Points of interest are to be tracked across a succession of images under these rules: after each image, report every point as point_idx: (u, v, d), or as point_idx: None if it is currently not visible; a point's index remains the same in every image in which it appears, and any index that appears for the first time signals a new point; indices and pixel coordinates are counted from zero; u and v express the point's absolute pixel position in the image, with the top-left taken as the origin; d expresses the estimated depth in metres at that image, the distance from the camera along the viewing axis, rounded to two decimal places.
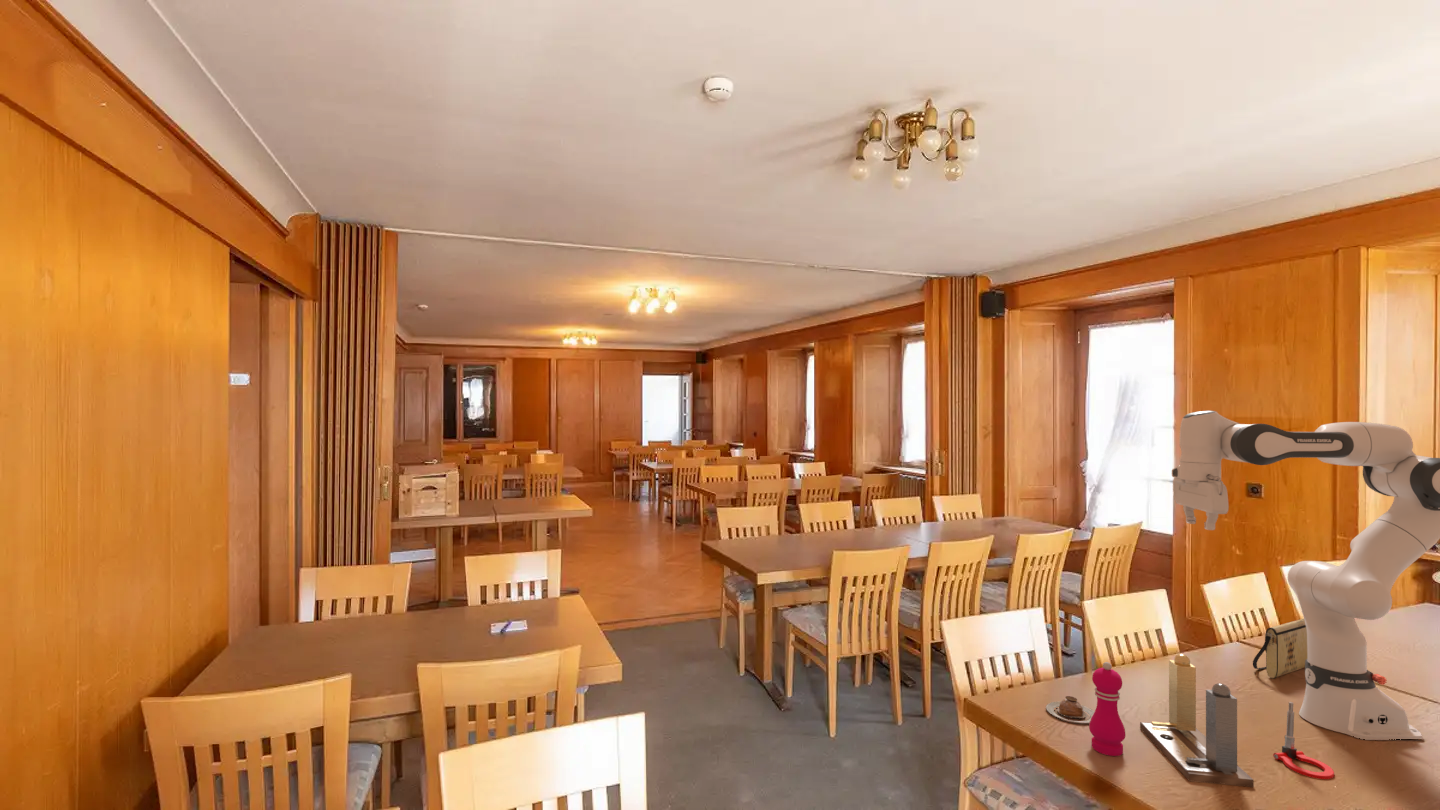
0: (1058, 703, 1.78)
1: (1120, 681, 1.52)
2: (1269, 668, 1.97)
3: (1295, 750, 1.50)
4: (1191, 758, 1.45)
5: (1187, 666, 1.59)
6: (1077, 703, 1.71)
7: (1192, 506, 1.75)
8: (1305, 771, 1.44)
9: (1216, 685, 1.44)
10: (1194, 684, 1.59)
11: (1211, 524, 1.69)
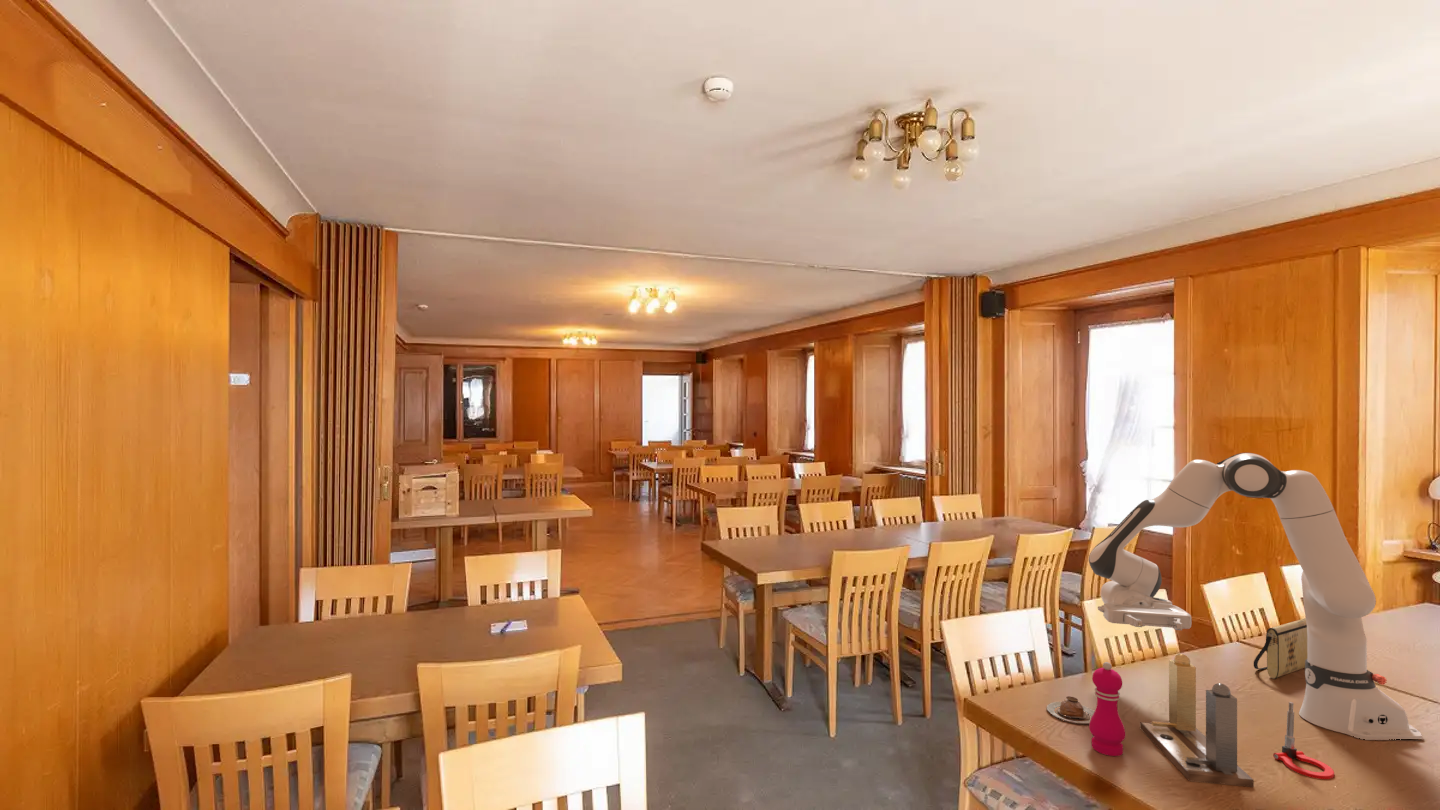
0: (1059, 703, 1.78)
1: (1120, 681, 1.52)
2: (1270, 669, 1.97)
3: (1295, 750, 1.50)
4: (1191, 758, 1.45)
5: (1187, 666, 1.59)
6: (1078, 703, 1.71)
7: (1150, 625, 1.78)
8: (1305, 771, 1.44)
9: (1216, 685, 1.44)
10: (1194, 684, 1.59)
11: (1133, 621, 1.75)
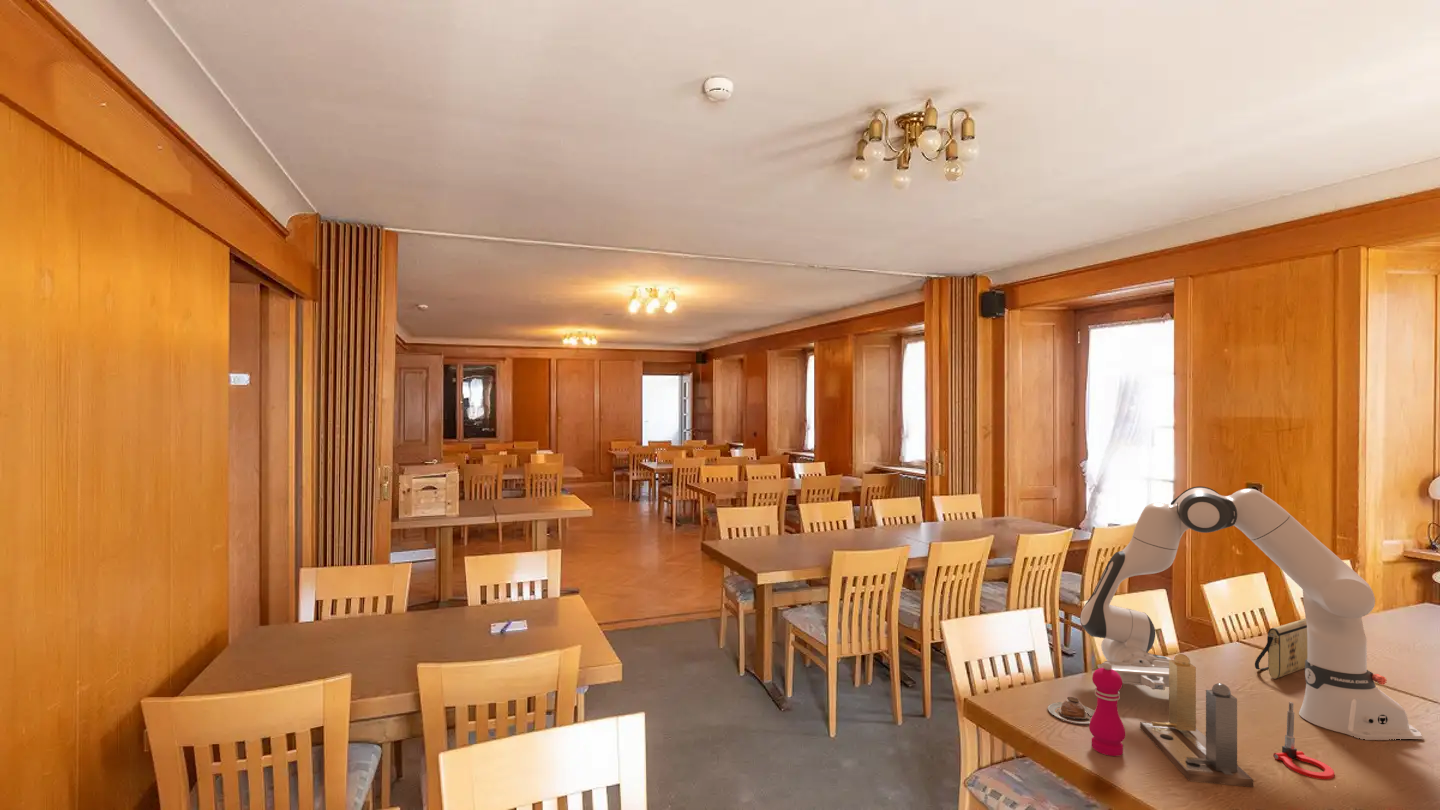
0: (1060, 704, 1.77)
1: (1120, 681, 1.52)
2: (1271, 669, 1.97)
3: (1295, 750, 1.50)
4: (1191, 758, 1.45)
5: (1187, 666, 1.59)
6: (1079, 704, 1.71)
7: None
8: (1305, 771, 1.44)
9: (1216, 685, 1.44)
10: (1194, 684, 1.59)
11: (1150, 683, 1.74)
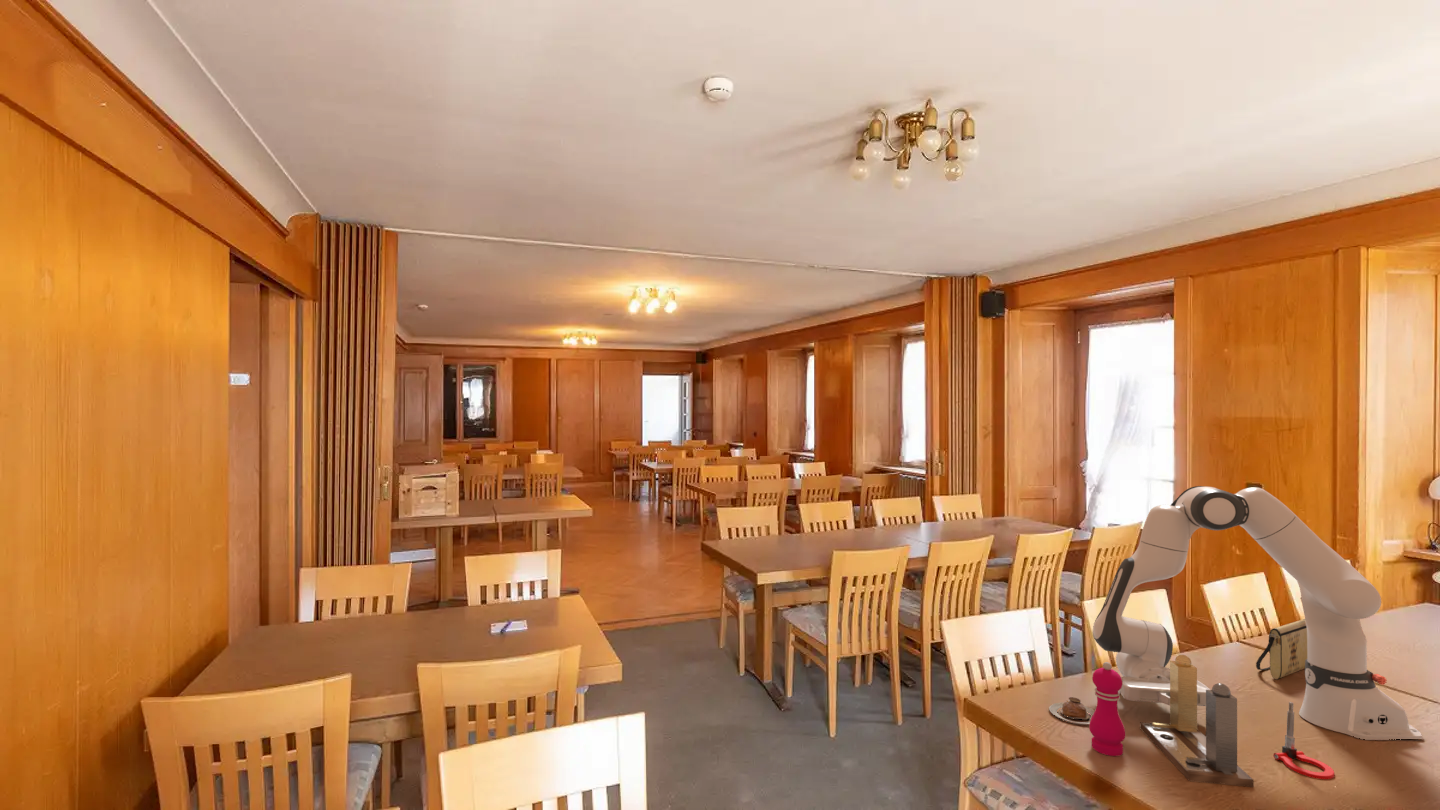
0: (1061, 704, 1.77)
1: (1120, 681, 1.52)
2: (1273, 669, 1.96)
3: (1295, 750, 1.50)
4: (1191, 758, 1.45)
5: (1188, 667, 1.59)
6: (1080, 704, 1.71)
7: None
8: (1305, 771, 1.44)
9: (1216, 685, 1.44)
10: (1195, 685, 1.58)
11: (1169, 701, 1.64)
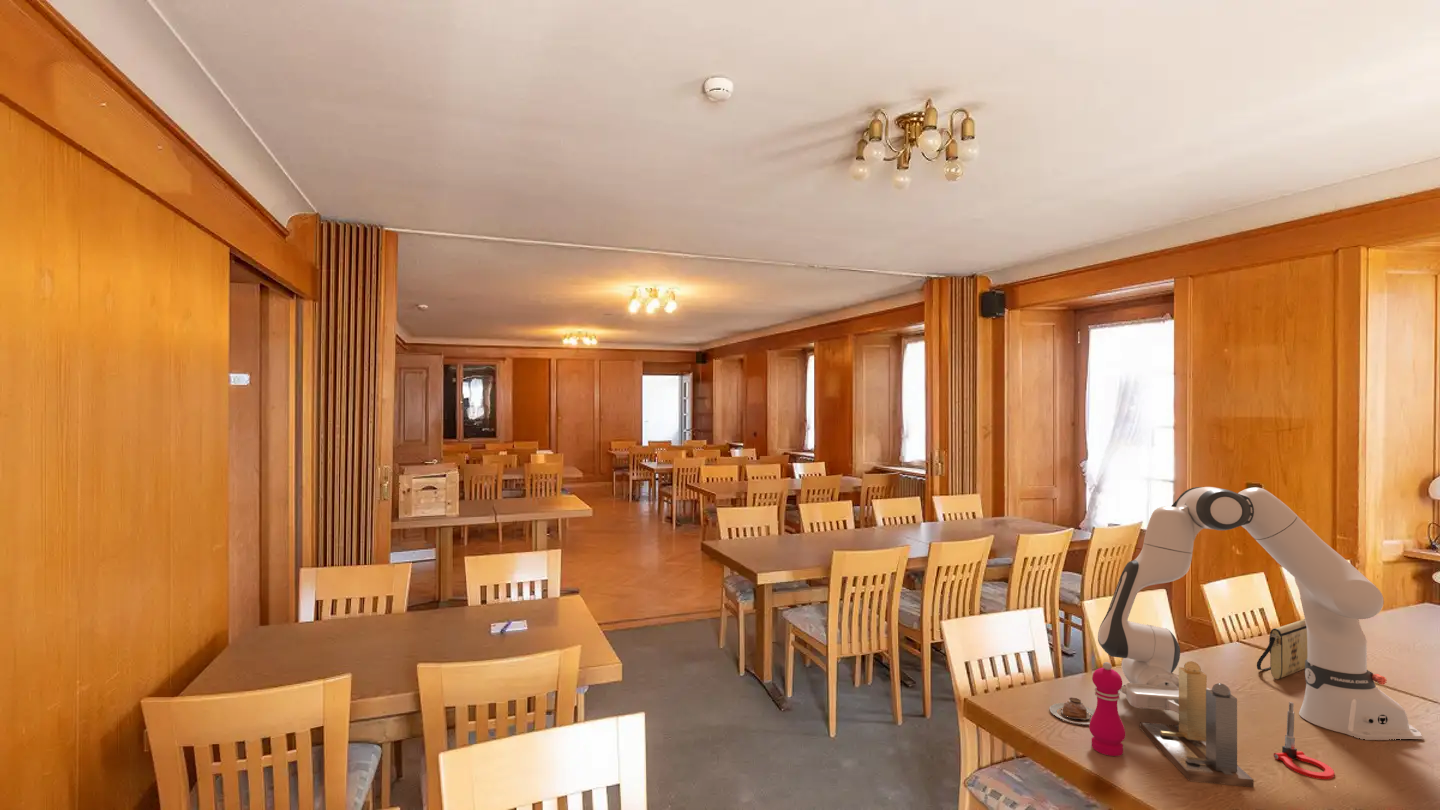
0: (1061, 704, 1.77)
1: (1120, 681, 1.52)
2: (1274, 670, 1.96)
3: (1295, 750, 1.50)
4: (1191, 758, 1.45)
5: (1197, 674, 1.54)
6: (1081, 704, 1.71)
7: None
8: (1305, 771, 1.44)
9: (1216, 685, 1.44)
10: (1205, 692, 1.54)
11: (1178, 709, 1.60)
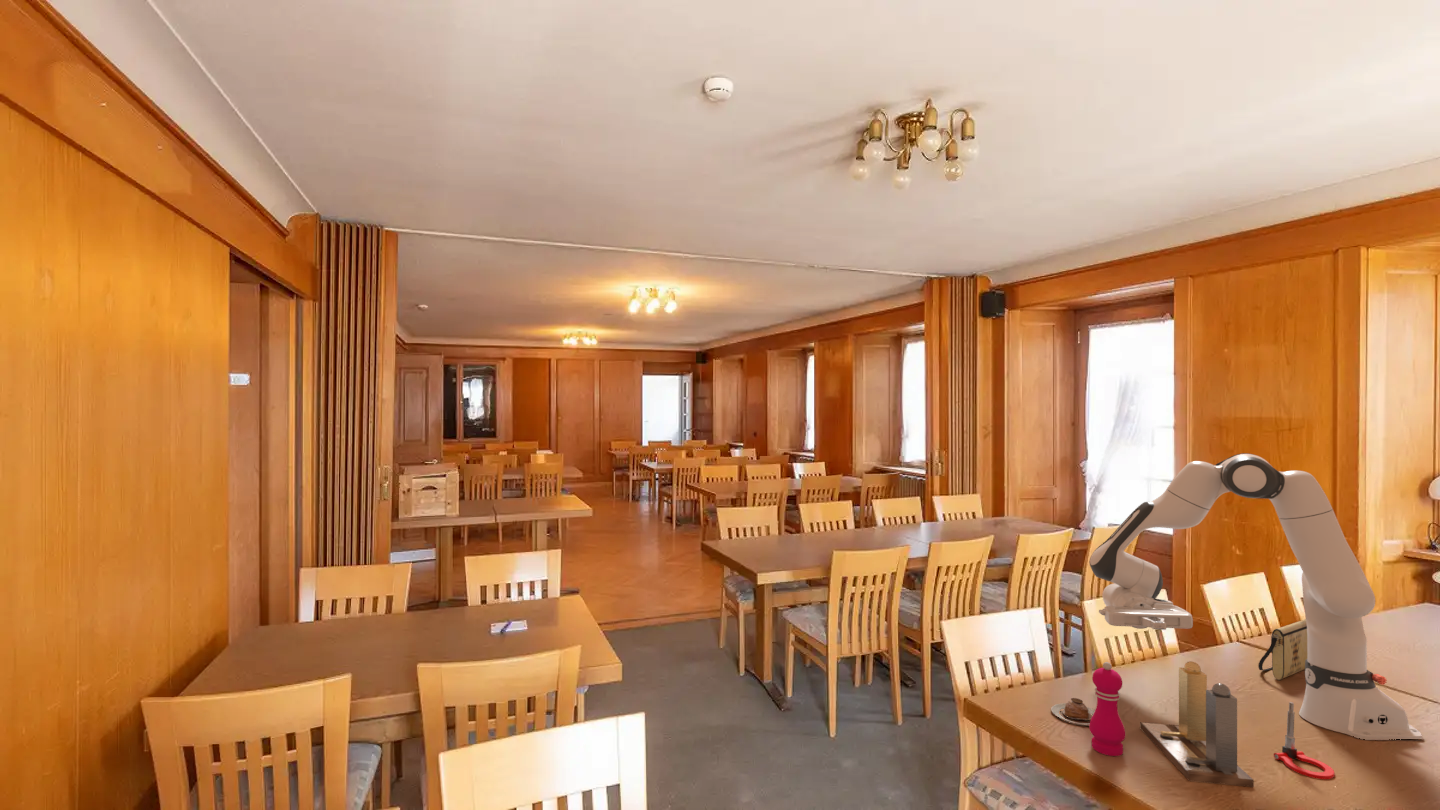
0: (1063, 705, 1.77)
1: (1120, 681, 1.52)
2: (1275, 670, 1.96)
3: (1295, 750, 1.50)
4: (1191, 758, 1.45)
5: (1198, 674, 1.54)
6: (1083, 705, 1.70)
7: None
8: (1305, 771, 1.44)
9: (1216, 685, 1.44)
10: (1205, 692, 1.54)
11: (1151, 624, 1.74)
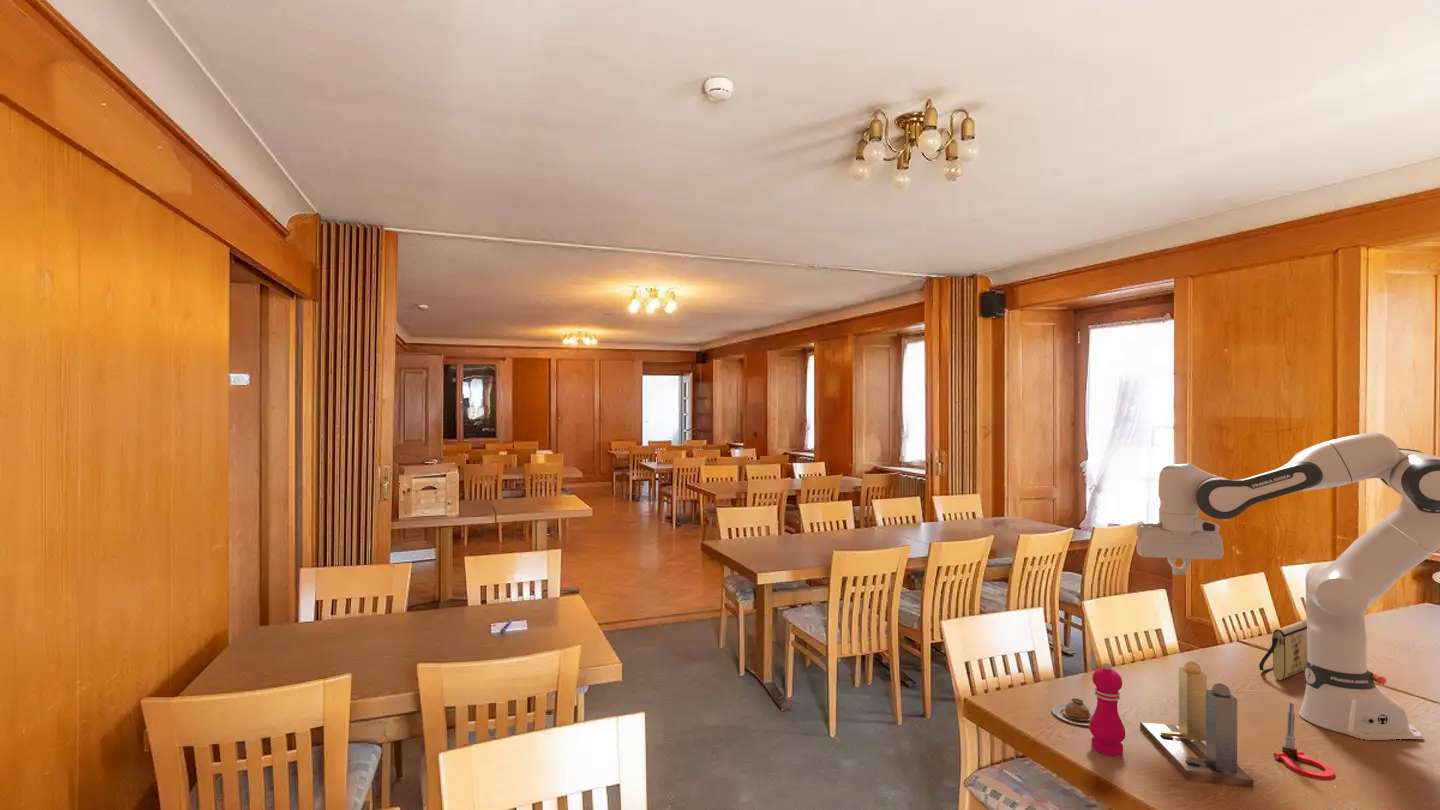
0: (1064, 705, 1.76)
1: (1120, 681, 1.52)
2: (1276, 670, 1.96)
3: (1295, 750, 1.50)
4: (1191, 758, 1.45)
5: (1198, 674, 1.54)
6: (1083, 705, 1.70)
7: None
8: (1305, 771, 1.44)
9: (1216, 685, 1.44)
10: (1205, 692, 1.54)
11: (1173, 568, 1.83)
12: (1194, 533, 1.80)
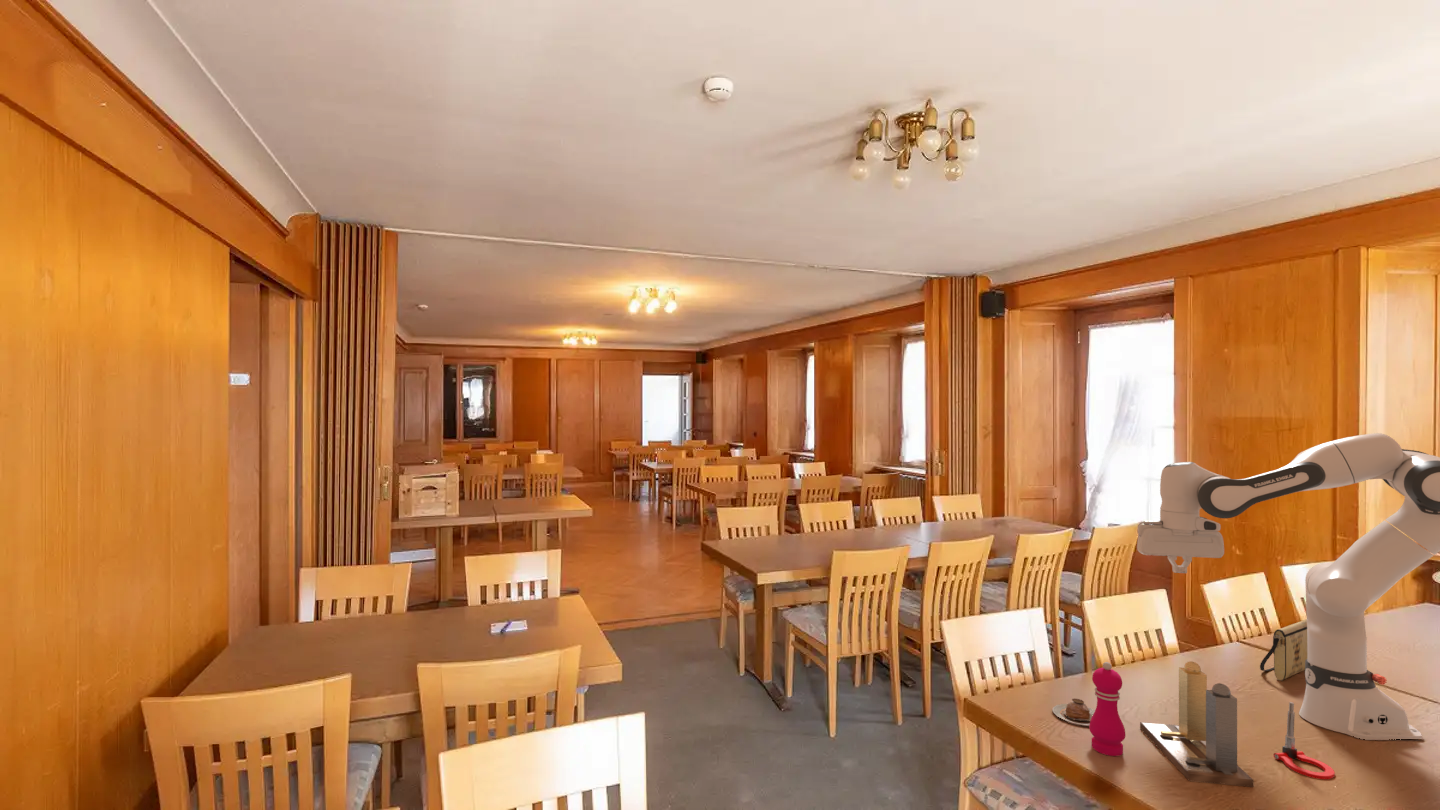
0: (1064, 705, 1.76)
1: (1120, 681, 1.52)
2: (1277, 671, 1.96)
3: (1295, 750, 1.50)
4: (1191, 758, 1.45)
5: (1198, 674, 1.54)
6: (1084, 705, 1.70)
7: None
8: (1305, 771, 1.44)
9: (1216, 685, 1.44)
10: (1205, 692, 1.54)
11: (1173, 567, 1.83)
12: (1195, 532, 1.80)
